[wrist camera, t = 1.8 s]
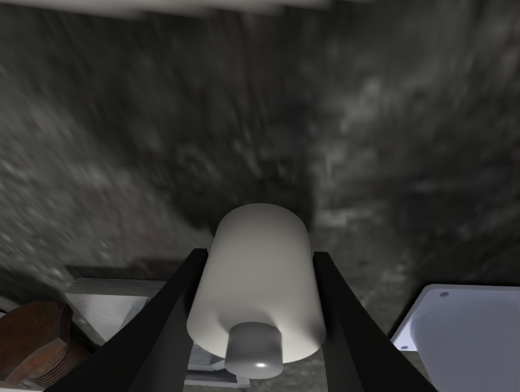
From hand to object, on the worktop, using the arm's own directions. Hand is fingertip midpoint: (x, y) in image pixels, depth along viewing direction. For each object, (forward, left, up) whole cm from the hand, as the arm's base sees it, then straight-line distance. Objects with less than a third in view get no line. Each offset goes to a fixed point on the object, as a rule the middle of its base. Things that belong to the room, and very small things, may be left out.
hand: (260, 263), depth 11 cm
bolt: (+17, +15, -2) cm, 23 cm away
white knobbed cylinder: (0, 0, -2) cm, 2 cm away
